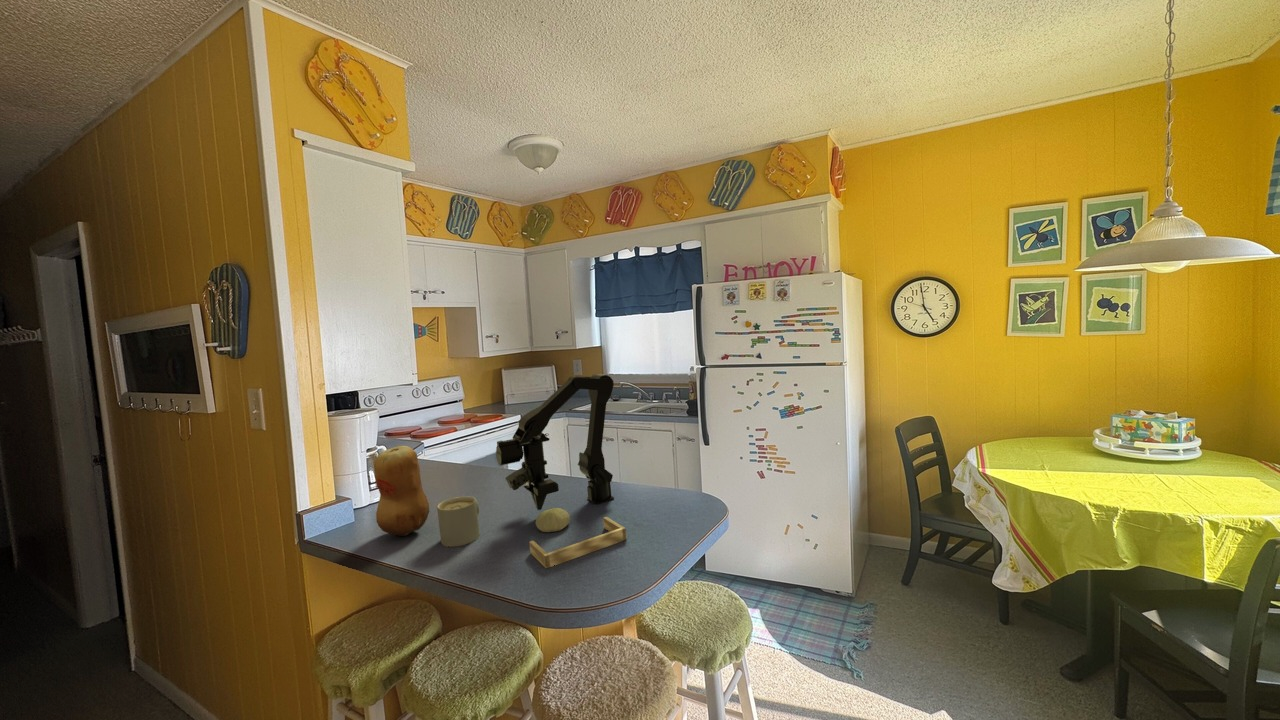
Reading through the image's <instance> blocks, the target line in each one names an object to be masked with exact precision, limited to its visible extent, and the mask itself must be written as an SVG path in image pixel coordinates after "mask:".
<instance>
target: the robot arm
mask: <svg viewBox="0 0 1280 720" xmlns="http://www.w3.org/2000/svg"><path fill="white" fill-rule="evenodd" d="M614 383H615V382H614V380H613V378H612V377H611V376H610V375H607V374H600V373H595V374H592V375H591V376H578V375H571V376H569V377H568V379H567V380H566V381H565V382H564V383H563V384H561V386H559V387H558V389H556V391H554V392H553V394H551V395H550V396H549V397H548V398H547V399H546V400H545V401H544V402H543V403H542V404H541V405H539V406H538V407H536V408H534V409H531V410H530V411H529V412H527V413H526V414H524V415H523V416H521V417H520V419H519V420H518V427H517V428H516V430H515V432H514V434H513V436H512V439H506V440H498V441H496V444H497V445H496V449H495V459H496V462H497V464H498V466H500V467H501V466H504V465H511V464H514V463H519V462H521V460H523V461H522V462H521V467H520V468H519V469H517V470H515V471H514V472H512V473H511V474H508V475H507V476H506V477H505V481H506V483H507V484H508V487H509V488H510V489H511V490H513V491H516V490H519V489H520V488H521V487H523V488H524V489H525V490H526V491H528V492H530V495H531V498H532V500H533V502H534V505H535V508H536V510H537V511H541V510H542V509H543V505H544V503H545V501H546V498H547V496H548V495H550V494H552V493H553V494H554V493H556V492H559V489H560V488H559V483H558V482H556V481H554V480H552V479H551V478H549V474H548V473H546V465H548V461H547V460H546V459H545V455H544V453H545V452H544V443H545V442H549V441H550V438H549V437H547V436H546V435H545V433H543V432H544V430H545V429H546V427H548V424H549V422H550V420H551V418H552V417H553V416H554V415H555V414H556V412H558V411H559V410H560V409H561V408H562V407H563V406H564V405H566V403H567V402H568V401H569V400H570V399H571V398H572V397H573V396H574V395H575V394H576V393H577V392H578V391H580V390H588V395H589V399H590V412H589V422H588V432H587V440H586V441H587V442H586V447H585V450H584V452H579V454H578V463H577V466H578V467H579V471H580V472H581V473H582V475H585V477H586V479H588V481H587V485H588V486H587V489H586V490H587V491H586V492H587V498H586V499H587V500H588V501H590V502H592V503H593V504H596V505H597V504H598V505H599V504H601V503H604V502H608V501H611V500H614V499H615V496H612V487H611V486H612V485H611V482H612V480H613V477H614V476H613V474H612V473H611V472H610V471H608V470H607V469H606V465H605V464H606V463H605V456H604V452H603V440H604V439H603V438H604V430H605V421H606V410H607V405H608V404H607V403H608V402H609V401H610V398H611V397H612V393H613V389H614V385H615V384H614Z"/></svg>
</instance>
